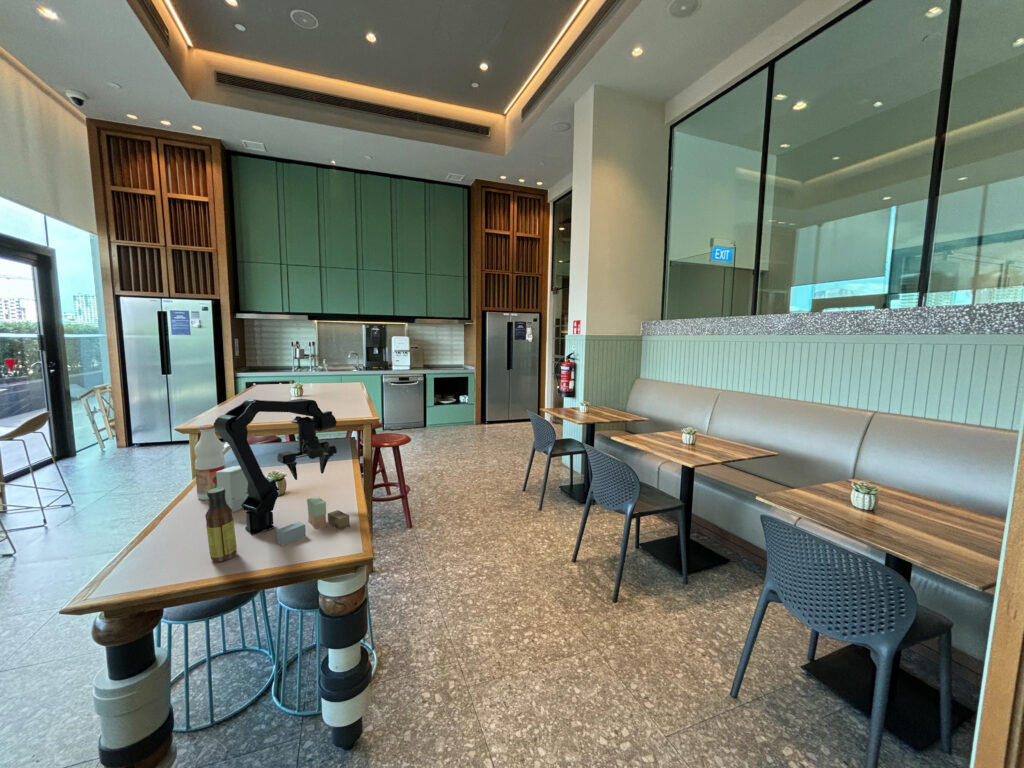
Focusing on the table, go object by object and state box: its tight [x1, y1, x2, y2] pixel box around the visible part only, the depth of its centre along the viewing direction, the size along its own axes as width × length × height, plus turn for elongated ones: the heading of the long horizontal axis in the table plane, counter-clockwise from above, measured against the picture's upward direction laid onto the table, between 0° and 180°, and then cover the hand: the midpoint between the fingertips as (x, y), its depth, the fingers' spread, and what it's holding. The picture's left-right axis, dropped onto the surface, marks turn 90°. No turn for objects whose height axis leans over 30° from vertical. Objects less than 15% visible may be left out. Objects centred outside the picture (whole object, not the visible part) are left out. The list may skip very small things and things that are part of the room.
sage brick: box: [306, 496, 327, 517], centre depth 136 cm, size 7×4×4 cm, turn 45°
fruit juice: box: [193, 424, 226, 501], centre depth 158 cm, size 9×9×28 cm
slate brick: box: [275, 521, 307, 546], centre depth 125 cm, size 7×4×4 cm, turn 146°
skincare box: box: [216, 465, 249, 514], centre depth 148 cm, size 8×6×15 cm
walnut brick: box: [327, 509, 351, 531], centre depth 135 cm, size 7×4×4 cm, turn 54°
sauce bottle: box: [204, 488, 238, 563], centre depth 114 cm, size 7×6×20 cm
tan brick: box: [307, 510, 327, 529], centre depth 136 cm, size 7×4×4 cm, turn 42°
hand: (309, 476), depth 147 cm, fingers open, 9 cm apart
